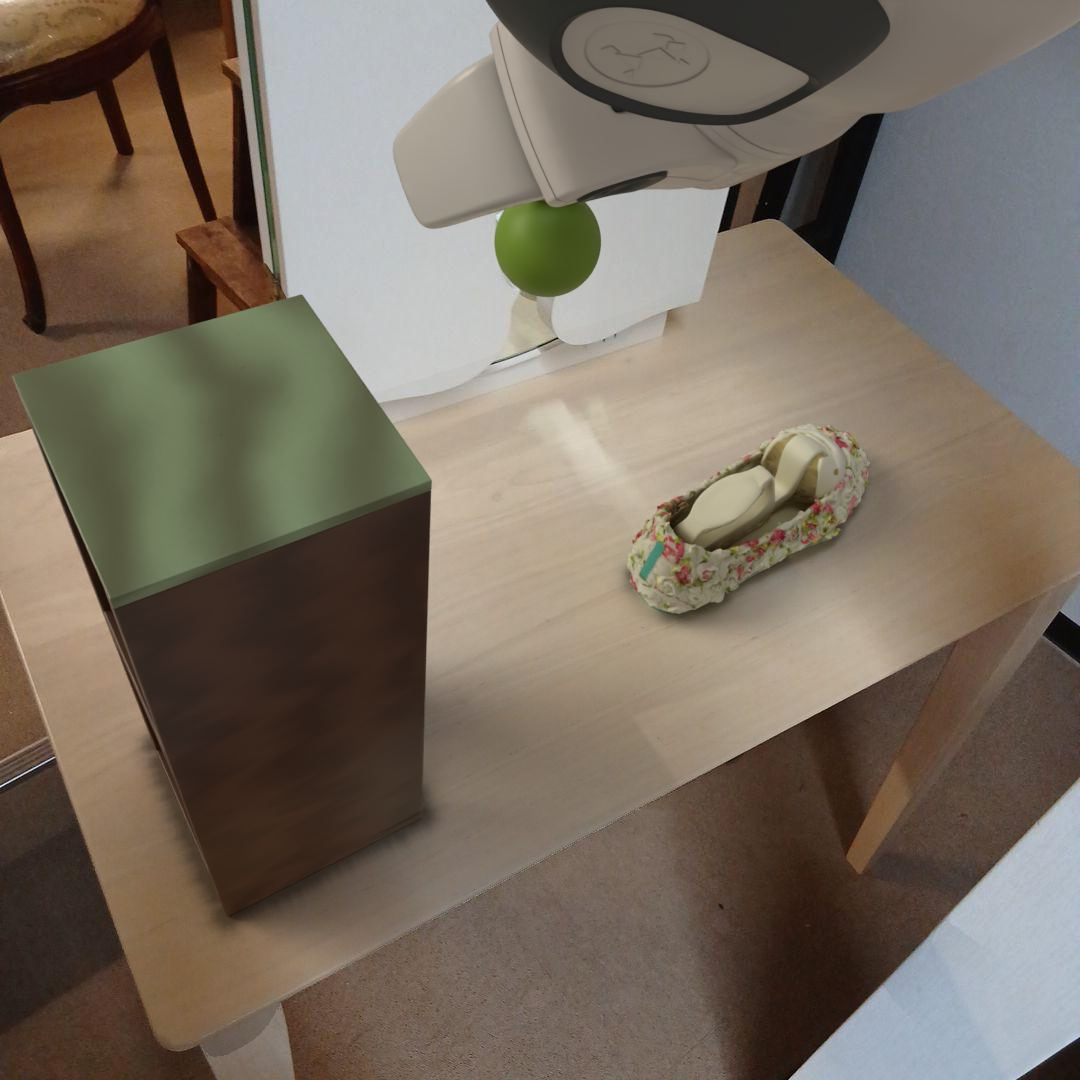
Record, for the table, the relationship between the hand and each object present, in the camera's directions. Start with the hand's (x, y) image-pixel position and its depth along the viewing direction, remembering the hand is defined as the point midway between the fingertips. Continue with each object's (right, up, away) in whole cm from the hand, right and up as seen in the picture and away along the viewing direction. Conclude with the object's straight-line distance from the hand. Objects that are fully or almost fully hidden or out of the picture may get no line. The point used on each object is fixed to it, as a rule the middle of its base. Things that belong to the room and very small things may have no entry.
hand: (539, 168), depth 52 cm
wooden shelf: (-15, -32, +12) cm, 38 cm away
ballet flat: (+16, -18, +28) cm, 37 cm away
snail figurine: (0, -5, +5) cm, 7 cm away
